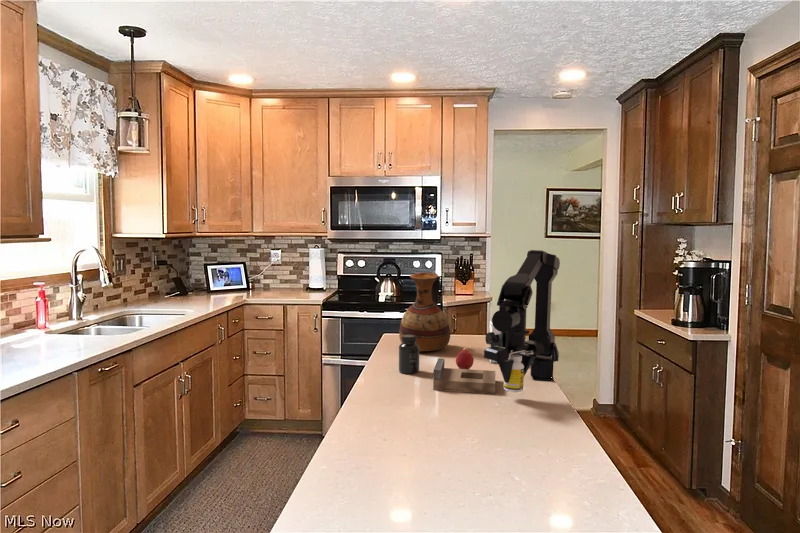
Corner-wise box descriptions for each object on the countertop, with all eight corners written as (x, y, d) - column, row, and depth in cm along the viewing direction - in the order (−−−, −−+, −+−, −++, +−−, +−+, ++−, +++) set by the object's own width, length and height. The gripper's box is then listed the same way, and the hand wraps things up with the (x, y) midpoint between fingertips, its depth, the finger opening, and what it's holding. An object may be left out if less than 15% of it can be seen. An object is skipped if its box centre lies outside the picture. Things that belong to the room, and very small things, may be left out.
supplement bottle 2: (523, 393, 153) (524, 358, 152) (503, 391, 154) (504, 357, 154) (523, 387, 159) (524, 353, 158) (503, 386, 160) (504, 352, 159)
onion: (467, 375, 181) (468, 350, 180) (452, 371, 184) (452, 348, 184) (476, 371, 185) (476, 347, 185) (461, 368, 189) (461, 345, 188)
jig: (494, 380, 175) (495, 361, 175) (495, 393, 162) (495, 373, 161) (437, 376, 178) (438, 358, 178) (433, 389, 164) (433, 369, 164)
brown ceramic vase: (390, 351, 212) (392, 273, 209) (410, 341, 230) (411, 268, 228) (439, 357, 204) (441, 275, 202) (456, 346, 222) (458, 271, 220)
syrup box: (504, 359, 202) (505, 320, 200) (507, 363, 196) (508, 323, 194) (488, 359, 202) (489, 319, 200) (490, 363, 196) (491, 322, 195)
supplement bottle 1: (419, 369, 187) (420, 334, 186) (418, 374, 180) (419, 338, 179) (399, 368, 187) (400, 333, 186) (397, 374, 181) (397, 337, 180)
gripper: (516, 318, 167) (515, 369, 168) (470, 324, 156) (469, 379, 157) (546, 324, 158) (544, 378, 159) (499, 331, 147) (497, 389, 148)
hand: (513, 380), depth 156 cm, fingers closed on supplement bottle 2, 5 cm apart
